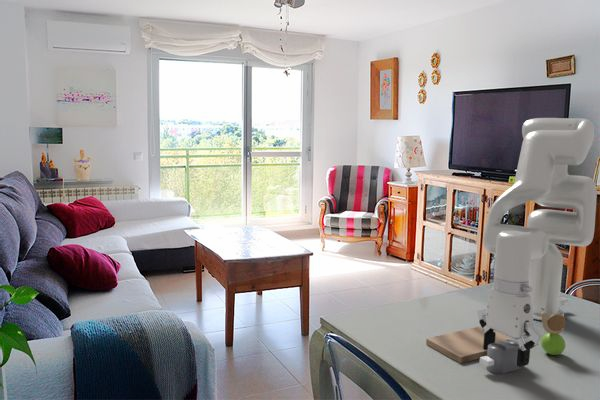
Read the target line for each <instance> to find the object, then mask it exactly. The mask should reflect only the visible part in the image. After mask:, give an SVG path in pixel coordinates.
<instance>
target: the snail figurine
mask: <svg viewBox="0 0 600 400" xmlns="http://www.w3.org/2000/svg"><path fill="white" fill-rule="evenodd" d="M541 309H542V310H543V311H544V310H545V309H544V308H543V307H541ZM541 317H542V320H541V323H542V327H543V329H544V331H545V332H546V333H545V334H544V335H542V338H541V340H540V345H541V348H542V349H543V351H544V352H545V353H546V354H549V355H551V356H558V355H560V354H562V353H564V351H565V350H566V341H565V339H564V337H563V336H562V335H561V333H563V332H564V331H565V326H566V319H565V318H566V317H565V316H564V317H563V316H562V315H560V314H553V315H551V316H550V317H549V318H548V319H547V313H545V312H542V313H541Z"/></svg>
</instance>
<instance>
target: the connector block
mask: <svg viewBox="0 0 600 400" xmlns="http://www.w3.org/2000/svg"><path fill="white" fill-rule="evenodd" d="M518 349H521V348H520V346H519V344H518V342H517V340H516V339H514V338H511V339H508V340H504V341H500V342H496V343H492V344H489V345H488V352H487V356H483V357H480V358H479V363H480V364H482V365H484V366H486V367H485V368H486V371H487V372H490V373H491V374H496V375H502V374H505V373H508V372H509V373H510V372H512V371H515V370H519V369H523V367H524V366H521V367H519V366H517V354H518Z"/></svg>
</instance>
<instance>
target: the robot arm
mask: <svg viewBox="0 0 600 400" xmlns="http://www.w3.org/2000/svg"><path fill="white" fill-rule="evenodd" d="M521 128H522V129H521V133H522V139H523V140H522V143H521V149H520V153H519V158H518V163H517V168H516V173H515V178H514V183H513V184H512V186H510V187H509V188H507V189H506V190H505V191H503V192H502V194H500V195H499V196H498V197H497V198H496V199H495V201H494V202H493V203H492V205H491V207H490V208H489V211H488V214H487V219H486V223H485V227H484V230H483V238H482V239H483V241H482V243H483V247H484V249H485V250H486V251H487V252H488V253H490V254H492V255H493V254H494V255H495V257H494V269H493V270H494V271H493V282H492V284H493V285H492V287H490V292H489V294H488V297H487V298H488V300H487V303H486V308H485V309H481V310H477V317H478V319H479V324H480V326H482V332H483V333H484V344H483V349H484V350H488V345H489V344H492V343H495V336H496V334H495V332H493V331H496V332H498V333H500V334H503V335H505V336H507V337H509V338H511V339H516V340H517V342H518V344H519V346H520V348H521V349H518V354H517V366H519V367H521V366H523V367H524V366H529V362H530V356H531V355H530V354H531V350H532V349H533V348H535V347H536V346H538V345H539V344H538V343H539V342H541V339H542V337H543V335H542V334H541V333H540V332H539V331H538V329H536V327H535V326H534V320H537V321H542V317H541V313H542V312H545V313H547V319H548V318H549V317H550V316H551V315H553V314H560V315H562V316H563V317H564V318H565V313H564V311H563V310H562V309H561V307H562V306H565V305H566V306H567V305H568V304H569V301H568V299H567V298H561V297H560V296H561V288H562V276H563V268H564V267H563V266H564V265H563V264H564V257H563V254H562V252H561V250H560V249H559V248H558V247H557V245H566V246H567V245H568V246H573V247H587V246H589V245H590V244H591V243H592V242H593V239H594V234H595V226H596V215H597V214H596V213H597V212H596V211H597V199H598V197H597V196H598V195H597V194H598V192H597V184H596V182H595V180H594V179H593V178H592V177H589V176H585V175H572V174H571V175H570V174H569V172H568V167H569V166H579V165H581V164H582V163H583V162H584V161H585V160H586V158H587V156H588V153H589V151H590V150H591V147H592V145H593V143H594V139H595V125H594V124H593V122H592V121H591V120H589V119H588V118H582V117H581V118H578V117H577V118H576V117H575V118H573V117H572V118H570V117H569V118H567V117H565V118H564V117H563V118H561V117H560V118H559V117H535V118H530V119H527V120H525V122H523V124H522V127H521ZM532 201H535V203H536V204H537V205H538V206H542V207H545V208H546V207H547V208H556V209H564V210H565V209H566V210H573V211H564V210H556V209H544V208H541V209H535V210H533V211H531V213H529V214H528V216H527V219H526V226H522V225H516V224H515V225H514V224H506V223H501V222H502V219H503V217H504V215H506V213H507V212H508V211H510V210H511V209H513V208H515V207H518V206H519V205H522V204H525V203H529V202H532ZM574 211H575V212H574ZM556 244H557V245H556ZM541 307H543V308H544V309H545V310H544V311H543V310H542V309H541ZM530 337H531V338H530Z"/></svg>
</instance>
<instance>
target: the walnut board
mask: <svg viewBox="0 0 600 400" xmlns="http://www.w3.org/2000/svg"><path fill="white" fill-rule="evenodd" d="M493 332H495V334H496V336H495V343H496V342H500V341H504V340H508V339H512V338H511V337H509V336H507V335H504V334H502V333H500V332H498V331H495V330H494V331H493ZM425 341H426V342H425V344H426V345H427V346H429V347H430V348H432V349H434V350H435V351H438V352H440V353H441V354H442V355H445V356H446V357H449V358H450V359H451V360H453V361H455V362H457V363H459V364H463V363H467V362H471V361H474V360H478V359H479V360H480V357H483V356H487V352H488V350H484V349H483V344H484V333H483V332H482V326H481V325H480V326H475V327H471V328H468V329H462V330H458V331H453V332H450V333H445V334H441V335H436V336H432V337H427V338H426V340H425Z"/></svg>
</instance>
